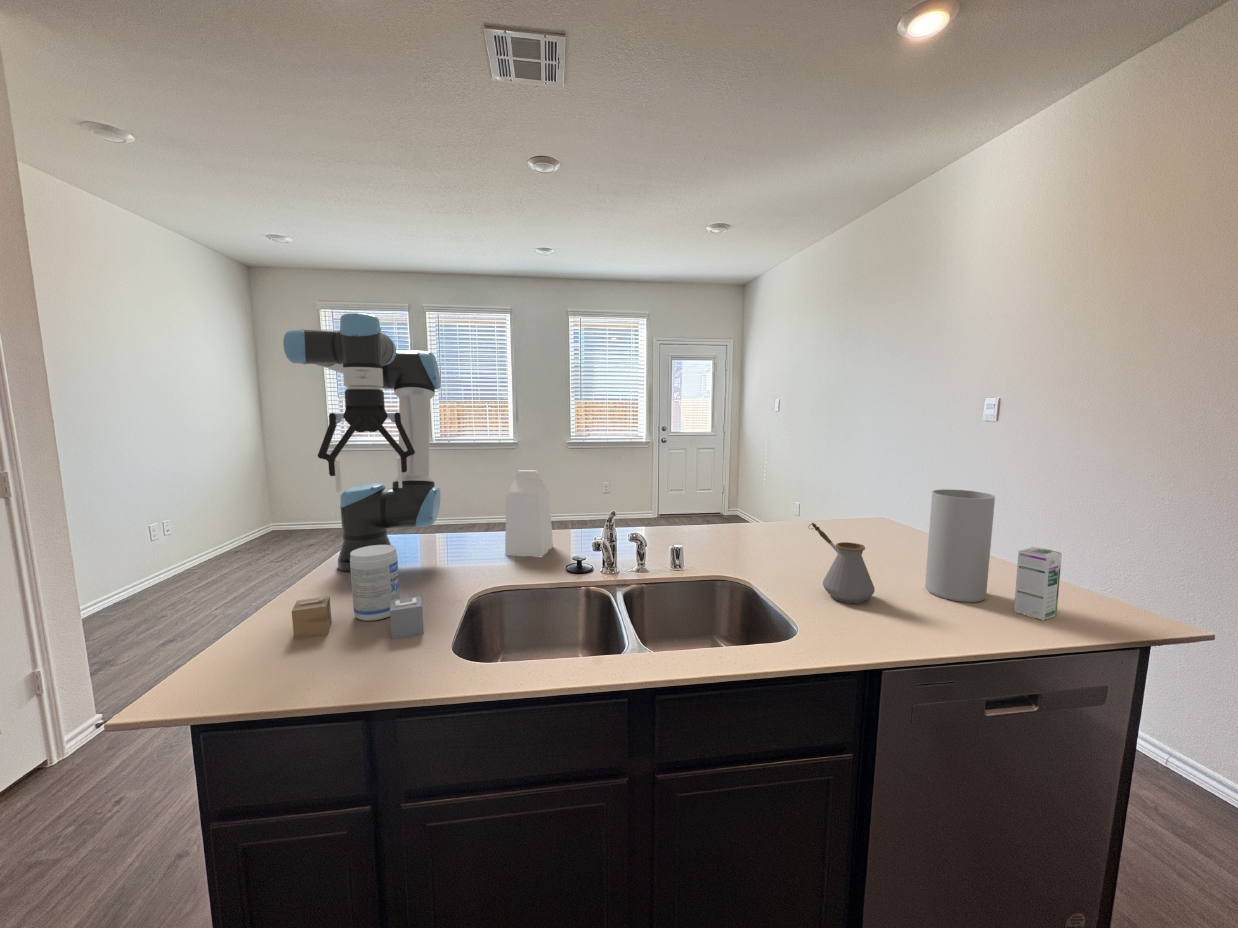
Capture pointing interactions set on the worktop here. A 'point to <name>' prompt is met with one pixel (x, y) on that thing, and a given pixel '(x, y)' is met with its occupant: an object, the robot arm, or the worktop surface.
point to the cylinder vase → (959, 544)
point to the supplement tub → (374, 581)
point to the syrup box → (1037, 582)
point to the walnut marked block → (311, 617)
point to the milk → (528, 516)
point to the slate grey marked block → (406, 617)
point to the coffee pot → (847, 572)
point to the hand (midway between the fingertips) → (370, 489)
